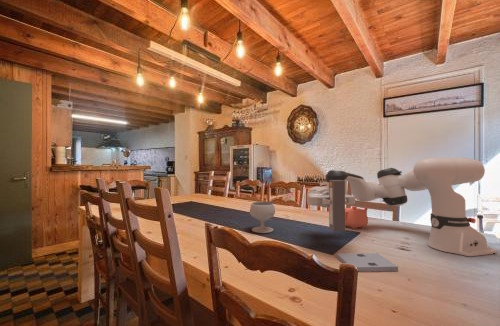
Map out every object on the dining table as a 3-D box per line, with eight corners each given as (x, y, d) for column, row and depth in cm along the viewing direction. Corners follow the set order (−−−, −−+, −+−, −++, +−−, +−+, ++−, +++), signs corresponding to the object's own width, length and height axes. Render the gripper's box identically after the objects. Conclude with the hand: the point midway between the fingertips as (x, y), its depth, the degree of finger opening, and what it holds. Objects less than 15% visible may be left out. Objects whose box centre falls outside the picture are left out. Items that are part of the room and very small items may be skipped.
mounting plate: (377, 256, 89) (377, 252, 89) (398, 271, 77) (398, 266, 77) (337, 257, 89) (337, 253, 89) (351, 271, 77) (351, 267, 77)
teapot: (349, 231, 124) (348, 209, 124) (334, 225, 135) (334, 205, 135) (377, 227, 130) (377, 206, 130) (361, 223, 141) (360, 203, 142)
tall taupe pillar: (339, 227, 96) (339, 180, 97) (345, 230, 92) (344, 180, 92) (328, 227, 96) (328, 180, 97) (333, 230, 91) (333, 180, 92)
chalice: (267, 226, 135) (267, 200, 136) (280, 232, 123) (279, 204, 123) (246, 228, 130) (245, 202, 130) (256, 235, 117) (256, 206, 117)
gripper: (347, 204, 107) (362, 209, 93) (304, 204, 107) (313, 210, 93) (347, 190, 107) (362, 194, 93) (304, 191, 107) (313, 195, 93)
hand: (337, 202), depth 93 cm, fingers closed on tall taupe pillar, 5 cm apart
